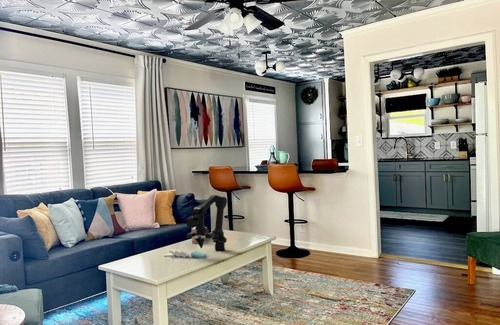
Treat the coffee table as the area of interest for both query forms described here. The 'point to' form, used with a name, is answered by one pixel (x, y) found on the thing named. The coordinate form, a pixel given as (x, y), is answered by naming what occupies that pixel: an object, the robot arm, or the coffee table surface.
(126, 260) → the coffee table surface
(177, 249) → the domino
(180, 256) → the domino
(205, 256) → the domino
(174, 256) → the domino
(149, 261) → the coffee table surface
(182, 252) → the domino
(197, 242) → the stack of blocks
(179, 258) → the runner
